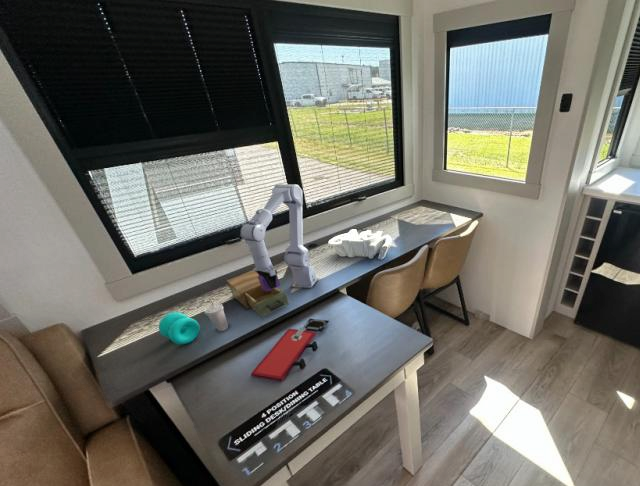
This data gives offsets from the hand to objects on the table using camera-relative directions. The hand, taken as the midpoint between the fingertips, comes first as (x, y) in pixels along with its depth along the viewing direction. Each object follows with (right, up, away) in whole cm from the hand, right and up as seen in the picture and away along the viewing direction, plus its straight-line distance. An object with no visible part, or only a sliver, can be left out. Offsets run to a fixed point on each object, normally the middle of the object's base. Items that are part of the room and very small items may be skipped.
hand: (270, 285), depth 127 cm
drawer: (-2, -9, +4) cm, 10 cm away
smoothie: (-16, -17, -5) cm, 24 cm away
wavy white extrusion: (+33, +19, +43) cm, 57 cm away
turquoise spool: (-28, -20, -9) cm, 36 cm away
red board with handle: (+16, -23, -17) cm, 33 cm away
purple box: (0, -1, 0) cm, 1 cm away
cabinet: (-13, -4, +14) cm, 19 cm away
